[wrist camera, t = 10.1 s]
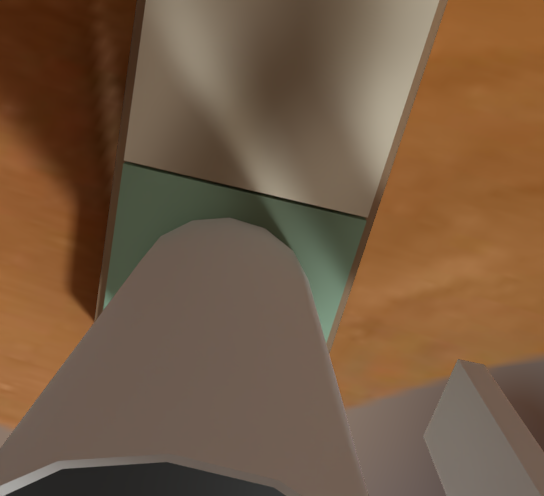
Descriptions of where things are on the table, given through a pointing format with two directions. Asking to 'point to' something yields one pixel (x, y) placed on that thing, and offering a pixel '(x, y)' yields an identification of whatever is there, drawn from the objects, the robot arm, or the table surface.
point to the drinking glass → (194, 383)
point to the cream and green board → (265, 127)
